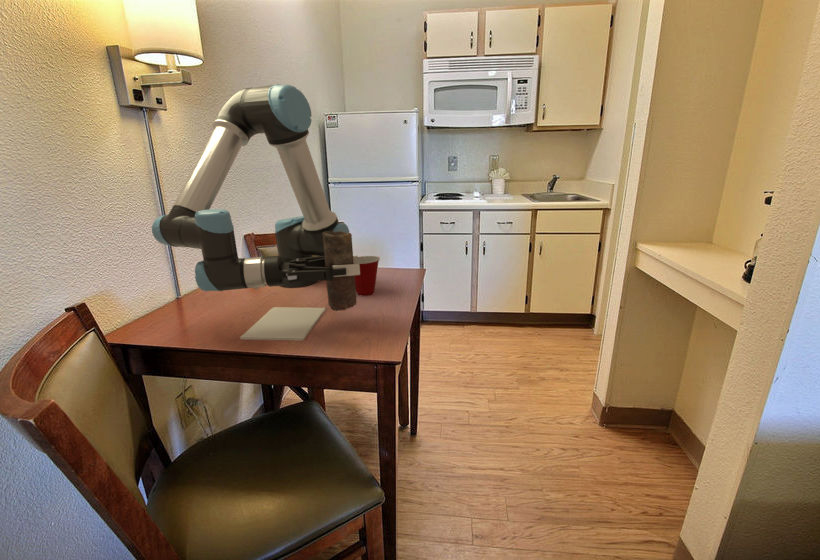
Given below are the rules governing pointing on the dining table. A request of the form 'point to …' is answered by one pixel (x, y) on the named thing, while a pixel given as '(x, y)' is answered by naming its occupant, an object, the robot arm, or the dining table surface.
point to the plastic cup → (366, 275)
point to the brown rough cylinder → (339, 254)
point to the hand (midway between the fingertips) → (358, 264)
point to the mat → (284, 324)
